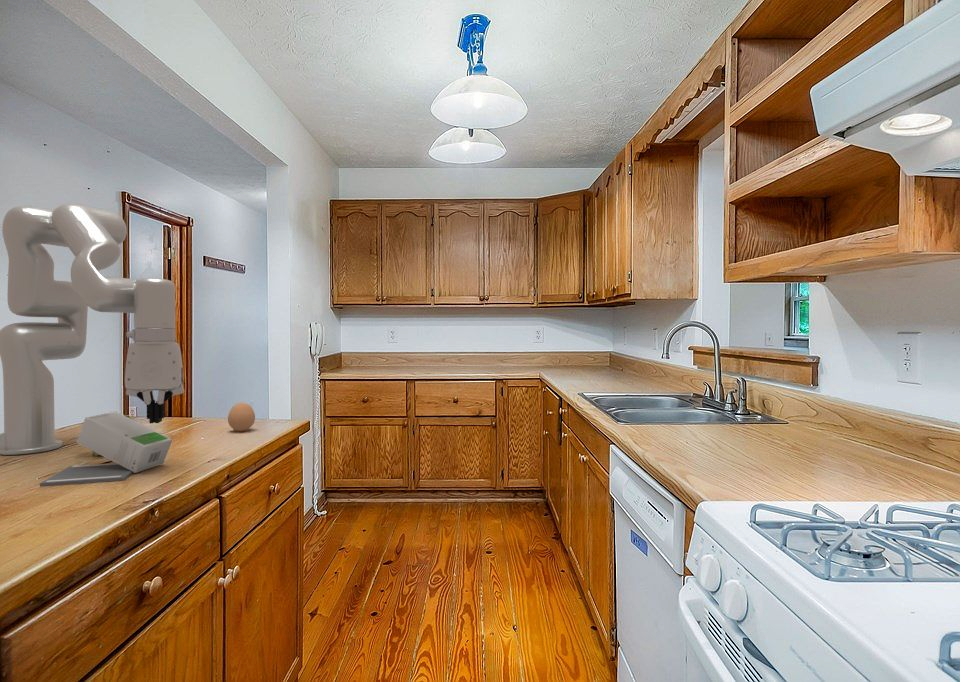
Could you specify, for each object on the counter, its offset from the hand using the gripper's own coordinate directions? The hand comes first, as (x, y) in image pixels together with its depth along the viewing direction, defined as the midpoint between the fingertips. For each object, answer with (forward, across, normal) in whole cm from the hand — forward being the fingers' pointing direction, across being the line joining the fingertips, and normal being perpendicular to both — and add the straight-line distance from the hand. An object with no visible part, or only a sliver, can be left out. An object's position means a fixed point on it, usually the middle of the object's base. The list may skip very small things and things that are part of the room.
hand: (155, 422), depth 112 cm
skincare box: (+8, 0, +1) cm, 8 cm away
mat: (+10, -11, 0) cm, 15 cm away
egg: (+11, +12, +41) cm, 44 cm away
